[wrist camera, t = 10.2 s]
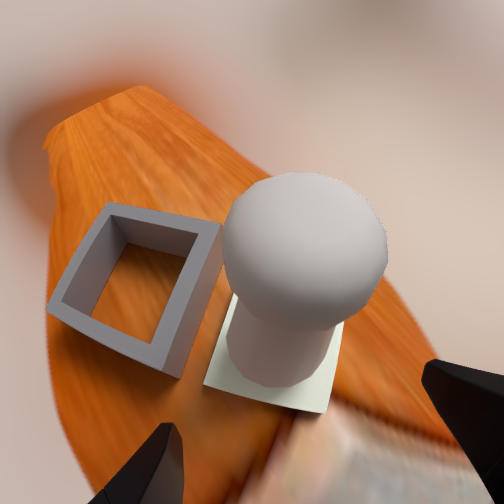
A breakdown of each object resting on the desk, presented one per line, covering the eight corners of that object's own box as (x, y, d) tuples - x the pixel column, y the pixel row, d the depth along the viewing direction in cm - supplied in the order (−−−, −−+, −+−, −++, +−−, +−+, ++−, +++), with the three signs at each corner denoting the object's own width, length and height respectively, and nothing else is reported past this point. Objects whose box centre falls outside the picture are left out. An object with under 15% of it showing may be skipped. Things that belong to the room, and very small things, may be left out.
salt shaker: (214, 365, 16) (129, 262, 5) (254, 294, 19) (251, 123, 8) (297, 404, 15) (401, 387, 4) (331, 327, 17) (429, 186, 7)
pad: (321, 413, 15) (325, 413, 14) (205, 385, 16) (202, 383, 16) (342, 307, 19) (346, 302, 18) (239, 283, 21) (239, 277, 20)
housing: (180, 379, 17) (161, 370, 13) (73, 328, 18) (45, 310, 15) (226, 254, 22) (221, 223, 19) (124, 230, 24) (108, 201, 20)
